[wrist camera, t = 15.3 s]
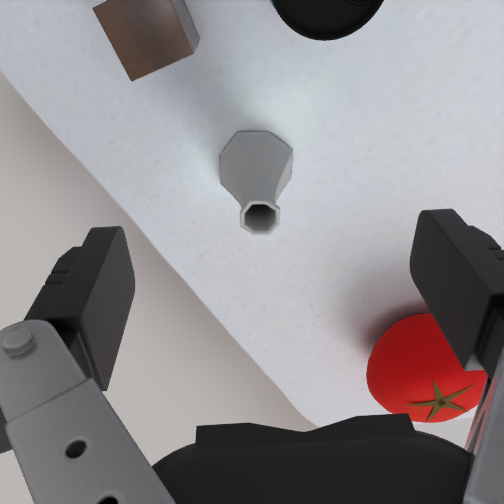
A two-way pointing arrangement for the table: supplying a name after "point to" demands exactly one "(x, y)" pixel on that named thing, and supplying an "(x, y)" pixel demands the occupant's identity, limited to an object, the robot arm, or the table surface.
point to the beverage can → (326, 16)
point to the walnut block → (148, 33)
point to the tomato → (421, 373)
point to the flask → (256, 177)
